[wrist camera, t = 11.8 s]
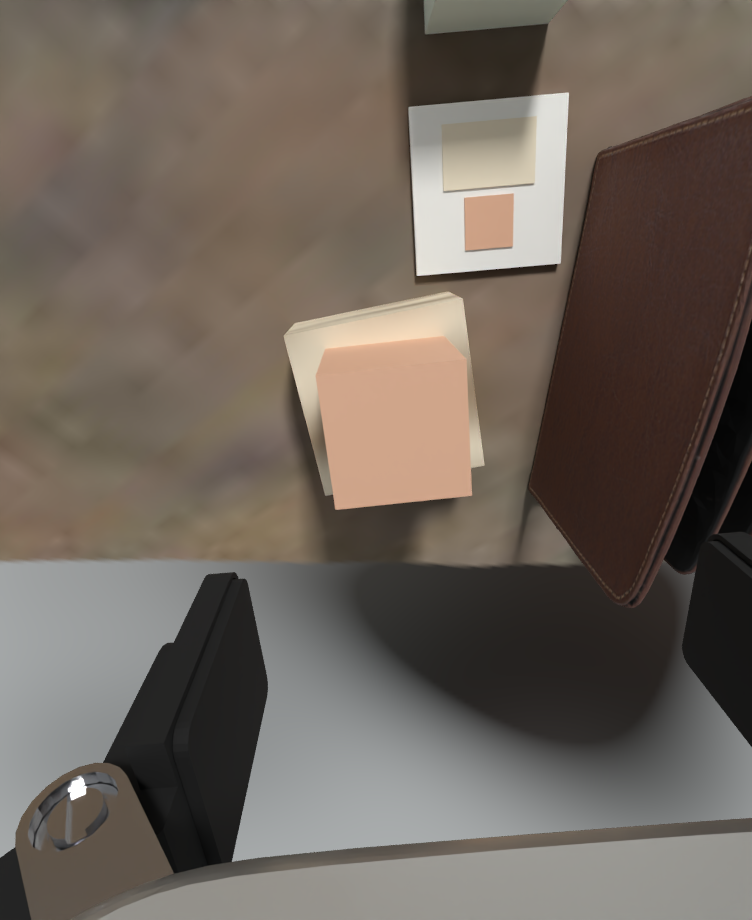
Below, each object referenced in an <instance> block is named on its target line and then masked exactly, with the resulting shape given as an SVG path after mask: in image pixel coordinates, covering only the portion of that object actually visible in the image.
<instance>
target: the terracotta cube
mask: <svg viewBox="0 0 752 920" xmlns="http://www.w3.org/2000/svg"><path fill="white" fill-rule="evenodd" d="M316 382H317V389H318V396H319V403H320V409H321V416H322V423H323V429H324V436H325V443H326V450H327V456H328V463H329V470H330V477H331V483H332V490H333V497H334V503H335V510H340V509H349V508H359V507H369V506H378V505H388V504H397V503H407V502H416V501H426V500H435V499H445V498H455V497H464V496H472V486H471V460H470V434H469V408H468V382H467V359H466V358H465V357H464V356H463V355H462V354H461V353H460V352H459V351H458V350H457V349H456V348H455V347H454V346H453V344H452V343H451V342H450V341H449V340H448V339H447V338H446V337H445V336H438V337H429V338H420V339H410V340H401V341H392V342H383V343H374V344H365V345H355V346H346V347H337V348H328V349H325V351H324V353H323V356H322V359H321V362H320V364H319V367H318V370H317V373H316Z"/></svg>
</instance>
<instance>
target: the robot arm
mask: <svg viewBox="0 0 752 920" xmlns="http://www.w3.org/2000/svg"><path fill="white" fill-rule="evenodd" d="M682 650H683V655H684V658H685V660H686V662H687V664H688V665H689V667H690V668H691V669H692V670H693V672H694V673H695V674H696V675H697V677H698V678H699V679H700V681H701V682H702V683H703V684H704V686H705V687H706V689H707V690H708V691H709V692H710V694H711V695H712V696H713V697H714V699H715V700H716V701H717V703H718V704H719V705H720V707H721V708H722V709H723V710H724V712H725V713H726V714H727V716H728V717H729V718H730V720H731V721H732V722H733V723H734V725H735V726H736V727H737V728H738V730H739V731H740V732H741V734H742V735H743V736H744V738H745V739H746V740H747V741H748V743H749V744H750V745H751V746H752V536H750V535H749V534H747V533H745V532H733V533H721V534H713V535H711V536H710V537H709V538H708V540H707V542H704V543H703V544H702V545H701V547H700V550H699V556H698V561H697V567H696V572H695V578H694V583H693V589H692V595H691V600H690V605H689V611H688V616H687V622H686V628H685V633H684V638H683V644H682ZM267 692H268V681H267V675H266V670H265V665H264V660H263V655H262V650H261V645H260V640H259V636H258V631H257V626H256V621H255V616H254V611H253V607H252V602H251V597H250V592H249V587H248V583H247V581H246V579H238V576H237V574H236V573H235V572H233V573H220V574H208V575H207V576H206V577H205V578H204V580H203V583H202V585H201V587H200V589H199V591H198V593H197V595H196V597H195V599H194V601H193V603H192V606H191V608H190V610H189V612H188V614H187V616H186V618H185V620H184V622H183V624H182V626H181V629H180V631H179V633H178V635H177V637H176V639H175V641H174V643H167V644H165V645H164V646H162V648H161V650H160V651H159V653H158V655H157V657H156V659H155V661H154V663H153V664H152V667H151V668H150V671H149V673H148V674H147V676H146V679H145V680H144V682H143V684H142V686H141V688H140V690H139V692H138V694H137V696H136V698H135V700H134V702H133V704H132V706H131V708H130V710H129V712H128V714H127V716H126V718H125V720H124V722H123V724H122V726H121V728H120V730H119V732H118V734H117V736H116V738H115V740H114V742H113V744H112V746H111V748H110V750H109V752H108V754H107V756H106V758H105V760H104V762H103V763H93V764H89V765H85V766H82V767H78V768H76V769H74V770H72V771H70V772H68V773H66V774H64V775H62V776H61V777H60V778H58V779H57V780H55V781H54V782H52V783H51V784H50V785H48V786H47V787H46V788H45V789H44V790H43V791H42V792H41V793H40V794H39V795H38V796H37V797H36V798H35V799H34V800H33V801H32V802H31V804H30V805H29V807H28V808H27V810H26V811H25V813H24V814H23V816H22V817H21V820H20V823H19V825H18V829H17V831H16V844H15V848H14V849H12V850H11V851H9V852H8V853H6V854H5V855H4V856H2V857H1V858H0V920H752V818H746V819H731V820H716V821H702V822H688V823H674V824H661V825H647V826H634V827H621V828H606V829H593V830H581V831H566V832H553V833H542V834H541V833H540V834H527V835H514V836H501V837H489V838H476V839H464V840H452V841H439V842H426V843H415V844H402V845H389V846H377V847H364V848H353V849H343V850H333V851H323V852H314V853H303V854H293V855H283V856H273V857H263V858H255V859H248V860H242V861H235V862H232V858H233V853H234V849H235V844H236V839H237V834H238V830H239V825H240V820H241V815H242V811H243V806H244V802H245V797H246V792H247V788H248V783H249V778H250V773H251V769H252V764H253V760H254V755H255V750H256V746H257V741H258V736H259V731H260V727H261V722H262V717H263V713H264V708H265V704H266V699H267Z"/></svg>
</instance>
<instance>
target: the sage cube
mask: <svg viewBox="0 0 752 920" xmlns="http://www.w3.org/2000/svg"><path fill="white" fill-rule="evenodd" d="M567 1H568V0H424V22H425V35H426V34H437V33H449V32H460V31H471V30H482V29H494V28H505V27H516V26H527V25H539V24H548V23H549V22H550V21H551V20H552V19H553V17H554V16H555V15H556V14H557V13H558V11H559V10H560V9H561V8H562V7H563V5H564V4H565V3H566V2H567Z"/></svg>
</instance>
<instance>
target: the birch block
mask: <svg viewBox="0 0 752 920" xmlns="http://www.w3.org/2000/svg"><path fill="white" fill-rule="evenodd" d="M438 336H445V337H446V338H447V339H448V340H449V341H450V342H451V343H452V344H453V346H454V347H455V348H456V349H457V350H458V351H459V352H460V353H461V354H462V355H463V356H464V357H465V358H466V359H467V382H468V408H469V434H470V460H471V468H474V467H479V466H484V458H483V450H482V442H481V435H480V427H479V419H478V412H477V404H476V396H475V389H474V381H473V373H472V365H471V358H470V350H469V342H468V335H467V327H466V319H465V312H464V304H463V299H462V298H460V297H458V296H456V295H454V294H452V293H450V292H443V293H438V294H433V295H428V296H424V297H419V298H414V299H409V300H405V301H400V302H395V303H390V304H385V305H381V306H376V307H371V308H366V309H361V310H357V311H352V312H347V313H342V314H337V315H333V316H328V317H323V318H318V319H313V320H309V321H304V322H299V323H295V324H294V325H293V326H292V327H291V328H290V329H289V330H288V332H287V333H286V334H285V335H284V340H285V343H286V347H287V351H288V355H289V359H290V362H291V366H292V370H293V374H294V378H295V382H296V385H297V389H298V393H299V397H300V401H301V405H302V408H303V412H304V416H305V420H306V424H307V427H308V431H309V435H310V439H311V443H312V447H313V450H314V454H315V458H316V462H317V466H318V470H319V473H320V477H321V481H322V485H323V489H324V492H325V496H327V495H333V490H332V483H331V477H330V470H329V463H328V456H327V450H326V443H325V436H324V429H323V423H322V416H321V409H320V403H319V396H318V389H317V382H316V373H317V370H318V367H319V364H320V362H321V359H322V356H323V353H324V351H325V349H328V348H337V347H346V346H355V345H365V344H374V343H383V342H392V341H401V340H410V339H420V338H429V337H438Z"/></svg>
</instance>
